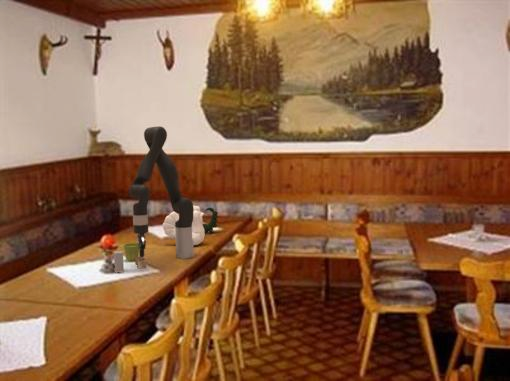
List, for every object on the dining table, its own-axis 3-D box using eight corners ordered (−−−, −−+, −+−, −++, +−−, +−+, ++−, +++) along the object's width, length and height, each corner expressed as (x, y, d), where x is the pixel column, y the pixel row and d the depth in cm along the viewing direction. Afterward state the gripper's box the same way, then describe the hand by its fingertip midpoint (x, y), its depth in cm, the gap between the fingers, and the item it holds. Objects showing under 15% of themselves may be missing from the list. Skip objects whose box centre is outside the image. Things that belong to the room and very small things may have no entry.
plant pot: (136, 262, 294) (136, 246, 293) (120, 261, 296) (119, 246, 295) (143, 258, 304) (143, 243, 303) (127, 257, 305) (127, 242, 304)
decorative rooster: (207, 242, 343) (206, 203, 340) (200, 248, 327) (199, 207, 324) (169, 241, 347) (168, 203, 344) (160, 247, 332) (159, 206, 329)
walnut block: (146, 267, 283) (142, 263, 292) (146, 260, 282) (142, 256, 292) (138, 268, 281) (135, 264, 291) (138, 261, 281) (135, 256, 290)
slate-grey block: (122, 270, 279) (121, 251, 277) (123, 272, 275) (123, 252, 274) (114, 271, 277) (113, 251, 276) (115, 273, 273) (114, 253, 272)
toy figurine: (217, 234, 378) (182, 230, 381) (219, 207, 376) (183, 203, 378) (215, 237, 369) (178, 233, 371) (216, 209, 366) (180, 205, 369)
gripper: (150, 224, 276) (151, 258, 278) (145, 220, 288) (146, 253, 290) (135, 226, 273) (136, 260, 275) (131, 221, 285) (132, 254, 287)
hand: (141, 256), depth 283 cm, fingers closed
